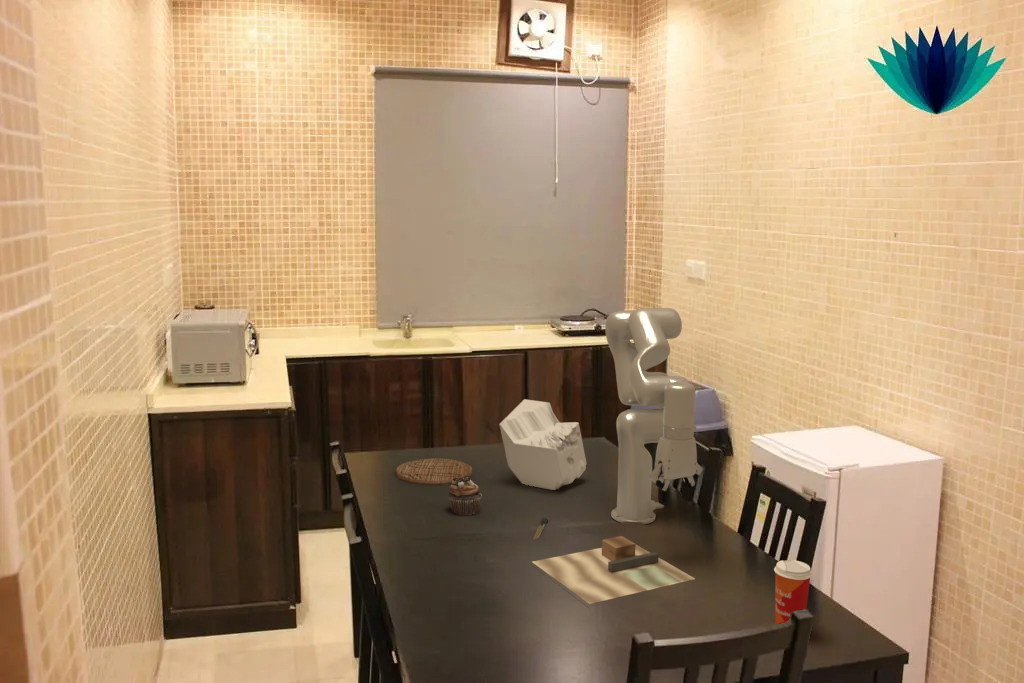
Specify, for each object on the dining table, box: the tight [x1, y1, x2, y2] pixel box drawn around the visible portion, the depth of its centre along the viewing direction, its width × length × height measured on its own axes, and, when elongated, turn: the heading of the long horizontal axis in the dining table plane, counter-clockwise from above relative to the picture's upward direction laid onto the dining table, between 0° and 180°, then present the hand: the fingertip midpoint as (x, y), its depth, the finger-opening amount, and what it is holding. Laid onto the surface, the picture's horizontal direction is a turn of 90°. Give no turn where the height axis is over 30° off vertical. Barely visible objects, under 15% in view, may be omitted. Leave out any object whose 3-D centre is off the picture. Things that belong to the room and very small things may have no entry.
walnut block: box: [601, 535, 637, 561], centre depth 221 cm, size 6×6×4 cm
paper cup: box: [773, 559, 813, 625], centre depth 186 cm, size 8×8×14 cm
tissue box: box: [498, 398, 588, 491], centre depth 279 cm, size 20×16×25 cm
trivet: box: [396, 457, 473, 486], centre depth 291 cm, size 25×25×2 cm
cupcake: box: [448, 476, 483, 516], centre depth 255 cm, size 10×10×10 cm
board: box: [532, 544, 696, 609], centre depth 213 cm, size 30×26×1 cm
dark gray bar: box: [608, 551, 660, 572], centre depth 215 cm, size 14×2×2 cm, turn 118°
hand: (674, 501), depth 219 cm, fingers open, 6 cm apart
